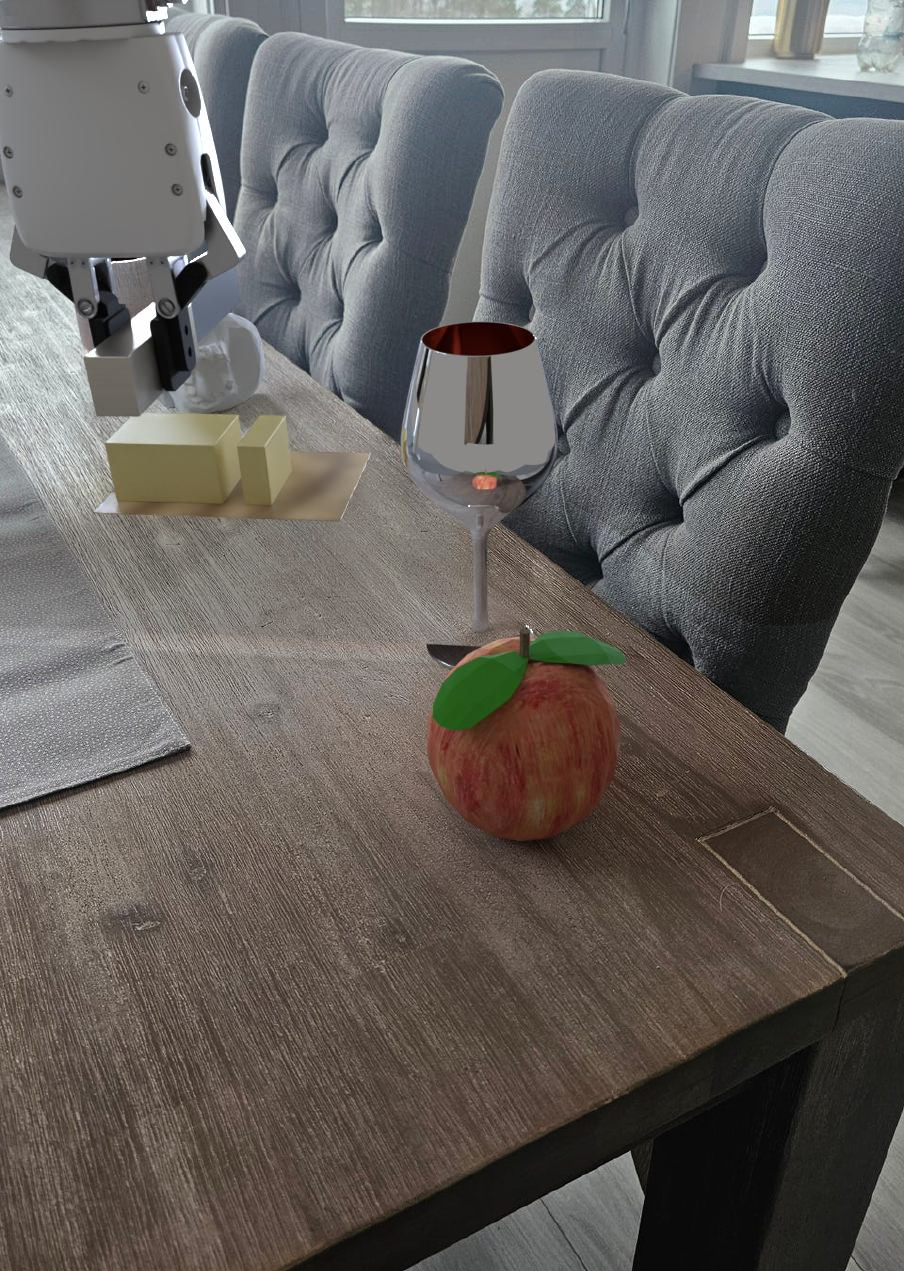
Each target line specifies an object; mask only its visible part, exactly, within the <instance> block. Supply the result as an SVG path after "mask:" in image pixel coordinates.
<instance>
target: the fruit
mask: <svg viewBox="0 0 904 1271" xmlns="http://www.w3.org/2000/svg"><path fill="white" fill-rule="evenodd" d="M626 660H627V658H626V656H625V655H624V653H623V651H622V650H620V649H618V648H617V647H615V646H613V645H611V644H608V643H606V642H603V641H601V640H598V639H596V638H594V637H591V636H588V635H586V634H583V633H581V632H578V631H571V630H570V631H569V630H555V631H549V632H546V633H542V634H540V635H539V636H537V637H535V638H534V637H530V630H529V629H528V628H526V627H523V628H520V629H519V636H515V637H513V636H512V637H504V638H498V639H495V640H493V641H492V642H489V643H487V644H485V645H483V646H482V647H481V648H479V649H477V650H475V651H473V652H471V653H469V654H468V655H466V656H465V657H464V658H463V659H462V660H461V661H460V662H459V663H458V664H457V665H456V666H455V667H454V668H453V669H450V671H449V672H448V673H447V675H446V676H445V678H444V679H443V681H442V682H441V684H440V686H439V687H438V689H437V691H436V695H435V697H434V700H433V703H432V706H431V708H430V711H429V715H428V716H427V717H428V718H427V730H426V732H427V733H426V752H427V758H428V764H429V766H430V768H431V770H432V773H433V775H434V778H435V779H436V782H437V784H438V786H439V788H440V791H441V794H442V795H443V797H444V799H445V801H447V802H448V804H449V805H450V806H451V807H452V808H453V809H454V810H455V811H456V812H457V813H458V814H459V815H460V817H462V819H463V820H464V821H465V822H467V823H469V824H470V825H472V826H474V827H476V828H478V829H480V830H481V831H483V832H485V833H486V834H488V835H491V836H493V837H496V838H502V839H507V840H512V841H519V842H524V841H533V840H534V841H535V840H546V839H549V838H551V837H553V836H556V835H559V834H561V833H563V832H566V831H568V830H571V829H572V828H573V827H575V826H577V825H579V824H580V823H581V822H582V821H583V820H584V819H585V818H586V817H588V815H589V814H590V813H591V812H592V811H593V810H594V809H595V808H596V807H598V805H599V803H600V802H601V800H602V798H603V796H604V795H605V794H606V792H607V790H608V788H609V787H610V786H611V784H612V782H613V780H614V775H615V772H616V767H617V765H618V760H619V755H620V748H621V742H622V738H621V736H622V735H621V733H622V732H621V721H620V718H619V715H618V712H617V708H616V705H615V703H614V701H613V698H612V696H611V694H610V691H609V689H608V687H607V685H606V683H605V682H604V680H603V678H602V677H601V676H600V674H599V672H598V671H597V670H596V669H595V667H594V666H603V665H620V666H624V665H625V663H626Z"/></svg>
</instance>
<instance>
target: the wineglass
mask: <svg viewBox="0 0 904 1271" xmlns="http://www.w3.org/2000/svg"><path fill="white" fill-rule="evenodd" d="M542 358H543V357H542V355H541V350H540V346H539V343H538V339H537V335H536V334H535V332H533V331H532V330H531V329H529V328H526V327H523V326H520V325H518V324H514V323H507V322H499V321H484V320H483V321H481V320H480V321H461V322H453V323H449V324H444V325H440V326H437V327H434V328H432V329H429V330H427V331H425V333H423V334H422V335H421V337H420V341H419V344H418V348H417V352H416V356H415V361H414V364H413V370H412V374H411V379H410V383H409V387H408V392H407V397H406V403H405V407H404V413H403V417H402V419H403V420H402V424H401V433H400V453H401V458H402V462H403V465H404V468H405V470H406V472H407V474H408V476H409V478H410V479H411V481H412V482H413V484H414V485H415V486H416V487H417V489H418V490H419V491H420V492H421V493H422V494H423V495H424V496H425V497H426V498H427V499H428V500H429V501H431V502H432V503H433V504H434V505H436V506H437V507H439V508H440V509H442V510H443V511H444V512H446V513H448V514H449V515H451V516H452V517H454V518H455V519H456V520H458V522H460V523H461V524H462V525H463V526H465V528H466V529H467V531H468V532H469V533H470V535H471V537H472V564H473V565H472V568H473V571H472V574H473V577H472V578H473V614H472V624H471V629H472V630H473V632H477V633H484V632H485V633H486V632H487V631H489V630H490V628H491V627H490V622H489V608H488V606H489V605H488V539H489V538H488V537H489V535H490V534H491V531H492V530H493V528H494V527H495V526H496V525H497V524H498V523H500V521H501V520H503V519H504V518H505V517H507V516H509V515H510V514H511V513H513V512H514V511H516V510H517V509H518V508H519V507H521V506H522V505H523V504H525V503H526V502H528V501H529V500H530V499H531V498H532V497H533V496H534V495H535V494H537V493H538V491H539V490H540V489H541V488H542V486H543V485H544V484H545V482H546V481H547V479H548V478H549V476H550V475H551V473H552V471H553V469H554V466H555V464H556V460H557V456H558V448H559V434H558V426H557V419H556V415H555V409H554V405H553V400H552V396H551V391H550V386H549V383H548V378H547V374H546V370H545V367H544V362H543V359H542ZM525 628H528V629H529V630H530V637H534V638H536V637H535V634H534V632H533V631H532V629H531V628H530V627H529V626H528V624H526V625H525ZM481 647H483V646H477V645H457V644H456V645H455V644H435V643H433V644H432V643H426V650H427V652H428V654H429V655H430V657H431V658H432V659H433V660H434V661H435V662H437V663H438V664H439V665H441V666H443V667H444V668H447V669H449V670H452V669H453V668H454V667H455V666H456V665H457V664H458V663H459V662H460V661H461V660H462V659H463V658H464V657H465V656H466V655H468V654H469V653H471V652H473V651H475V650H477V649H479V648H481Z"/></svg>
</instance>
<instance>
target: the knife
mask: <svg viewBox="0 0 904 1271" xmlns="http://www.w3.org/2000/svg"><path fill="white" fill-rule="evenodd" d="M240 294H241V293H240V287H239V279H238V273H237V265H236V266H235V267H234V268H232V269H230V270H228V271H226V272H224V273H222V274H221V275H219V276H217V277H215V278H213V279H211V280H209V281H208V282H207V283H206V284H205V285H204V287H203V288H202V289H201V291H200V292H199V293H198V294H197V296H196V297H195V298H194V300H193V302H192V303H191V304H190V305H189V306H188V312H189V318H190V324H191V330H192V336H193V342H194V348H195V354H196V360H197V359H198V358H199V356H200V355H199V349H198V342H199V341H201V340H202V339H203V338H204V337H205V336H206V335H207V334H208V333H209V332H210V331H211V330H212V329H213V328H214V327H215V326H216V325H217V324H218V323H219V322H220V321H221V320H222V319H223V318H225V317H226V316H227V315H228V314H229V313H230V312H231V311H232V312H233V310H234V309H235V308H236V307H237V306H238V305H240V303H241V302H242V300H241V295H240ZM232 312H231V313H232ZM154 317H156V311H155V303H153V304H151V305H150V306H149V307H147V308H146V309H145V310H143V311H142V312H141V313H139V314H138V315H137V316H136V317H134V318H133V319H132V320H131V321H129V322H128V323H127V324H126V325H124V326H123V327H122V328H120V329H119V330H118V331H116V332H115V333H114V334H113V335H111V336H110V337H108V338H107V339H106V340H105V341H103V342H102V343H101V344H99V345H98V346H97V347H96V348H94V349H93V350H92V351H88V353H86V354H85V355H84V356H83V358H82V359H83V362H84V367H85V372H86V377H87V380H88V386H89V389H90V394H91V398H92V403H93V407H94V412H95V415H96V417H129V418H130V417H139V416H140V415H141V414H142V413H145V412H146V411H147V410H148V409H149V408H150V407H151V406H152V405H153V404H154V403H155V402H156V401H157V400H158V399H157V398H158V397H159V396H160V395H161V394H162V393H163V392H164V391H165V390H164V389H163V388H162V385H161V380H160V375H159V369H158V364H157V359H156V353H155V348H154V343H153V337H152V336H151V331H150V321H151V320H152V319H153V318H154Z"/></svg>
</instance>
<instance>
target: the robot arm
mask: <svg viewBox="0 0 904 1271" xmlns="http://www.w3.org/2000/svg"><path fill="white" fill-rule="evenodd" d="M187 2H188V0H0V36H1V39H0V160H1V167H2V173H3V178H4V183H5V188H6V193H7V197H8V202H9V206H10V211H11V214H12V218H13V221H14V227H13V232H12V233H13V234H12V239H11V243H10V244H11V245H10V250H9V261H10V263H11V264H12V265H13V266H14V267H15V268H17V269H19V270H21V271H23V272H26V273H28V274H30V275H32V276H35V277H37V278H38V279H41V280H46V281H48V282H49V283H50V285H52V286H53V287H54V288H55V289H56V290H57V291H59V292H60V293H61V294H62V295H63V296H65V297H66V299H68V300H69V301H70V302H72V304H73V305H74V304H75V307H74V309H75V308H76V311H77V312H78V314H79V315H80V316H82V317H83V318H86V319H88V321H89V326H90V331H91V335H92V340H93V344H94V348H96V347H97V346H98V345H99V344H101V343H102V342H103V341H105V340H106V339H107V338H108V337H110V336H111V335H113V334H114V333H115V332H116V331H118V330H119V329H120V328H122V327H123V326H124V325H126V324H127V323H128V322H129V321H131V317H130V312H129V309H128V308H126V304H119V301H118V297H117V296H116V289H115V283H114V276H113V270H112V264H111V258H139V257H145V260H146V265H147V269H148V274H149V278H150V283H151V287H152V292H153V296H154V301H155V311H156V317H154V318H153V319H152V320H151V321H150V331H151V336H152V337H153V343H154V348H155V353H156V359H157V364H158V369H159V375H160V380H161V385H162V388H163V389H164V390H165V391H176V390H177V389H178V388H179V387H180V386H181V385H182V384H183V383H184V382H185V381H186V380H187V379H188V378H189V377H190V376H191V372H192V370H193V369H194V368H195V365H196V354H195V348H194V342H193V336H192V330H191V324H190V318H189V312H188V306H189V305H190V304H191V303H192V302H193V300H194V298H195V297H196V296H197V294H198V293H199V292H200V291H201V289H202V288H203V287H204V285H205V284H206V283H207V282H208V281H209V280H211V279H213V278H215V277H217V276H219V275H221V274H222V273H224V272H226V271H228V270H230V269H232V268H234V267H235V266H236V267H237V266H238V265H239V264H240V263H242V262H243V261H244V260H245V258H246V249H245V247H244V245H243V244H242V242H241V240H240V238H239V236H238V235H237V232H236V231H235V229H234V228H233V226H232V224H231V222H230V221H229V219H228V216H227V206H226V198H225V191H224V187H223V186H224V185H223V179H222V174H221V171H220V165H219V161H218V155H217V151H216V146H215V141H214V138H213V133H212V128H211V124H210V120H209V116H208V112H207V108H206V104H205V101H204V96H203V92H202V88H201V86H200V82H199V79H198V75H197V71H196V68H195V65H194V62H193V59H192V55H191V51H190V49H189V46H188V44H187V41H186V38H185V36H184V33H183V32H182V31H168V32H167V31H166V27H165V21H164V20H166V19H168V13H167V12H168V10H167V9H168V8H172V7H173V5H174V4H186V3H187ZM204 241H205V244H206V245H207V250H206V252H204V253H203V254H201V255H200V256H197V257H196V258H194V259H193V260H191V261H190V262H189V260H188V255H189V254H190V255H191V254H192V253H194V252H196V251H197V250H200V249H201V247H202V246H203V244H204Z"/></svg>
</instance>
